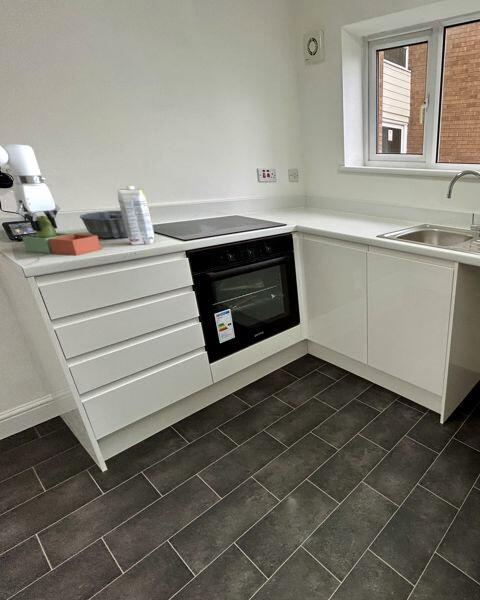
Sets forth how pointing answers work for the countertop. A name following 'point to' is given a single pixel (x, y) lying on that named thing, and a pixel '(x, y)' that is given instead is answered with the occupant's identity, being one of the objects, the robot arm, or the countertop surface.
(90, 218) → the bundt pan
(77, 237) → the terracotta bin
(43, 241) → the green bin
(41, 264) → the countertop surface
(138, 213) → the juice carton
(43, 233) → the pear
